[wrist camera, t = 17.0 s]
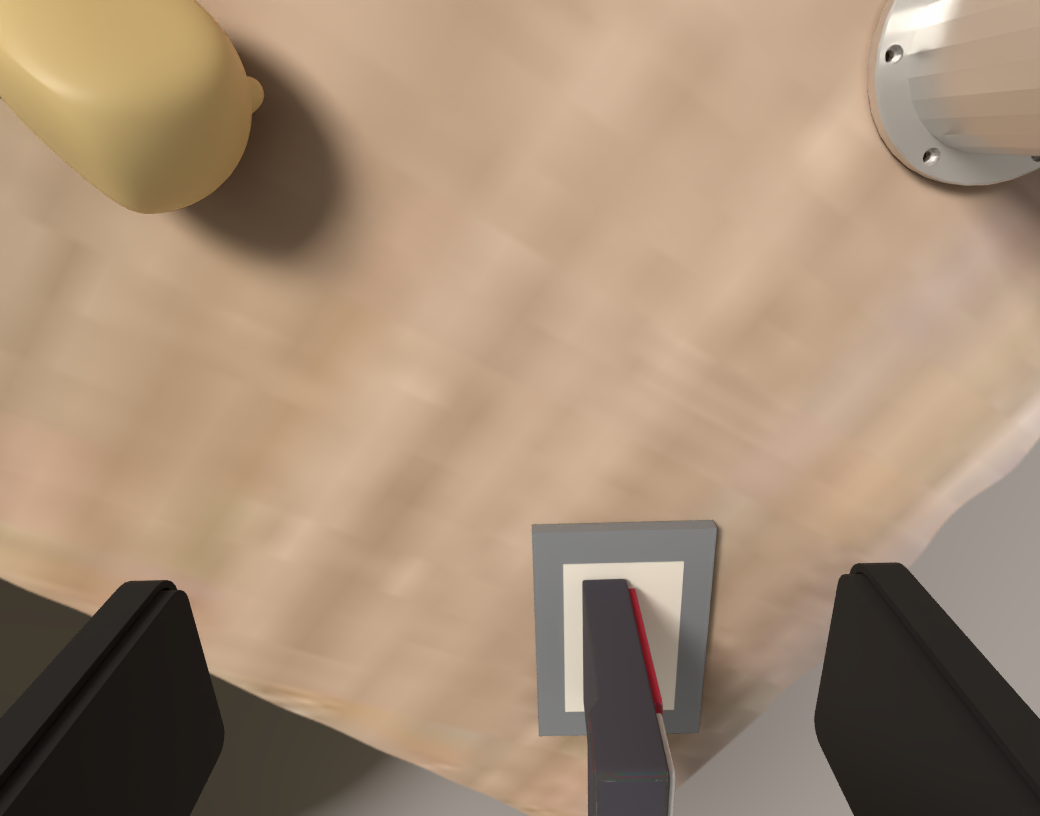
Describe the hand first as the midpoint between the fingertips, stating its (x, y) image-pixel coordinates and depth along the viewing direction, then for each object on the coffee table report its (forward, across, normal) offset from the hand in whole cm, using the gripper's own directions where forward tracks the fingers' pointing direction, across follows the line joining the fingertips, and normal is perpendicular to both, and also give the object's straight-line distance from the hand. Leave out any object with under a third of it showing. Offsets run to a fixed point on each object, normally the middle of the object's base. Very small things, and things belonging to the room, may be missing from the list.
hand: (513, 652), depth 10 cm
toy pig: (+31, +18, -10) cm, 37 cm away
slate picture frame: (+30, -6, +26) cm, 40 cm away
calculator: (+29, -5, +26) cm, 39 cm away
